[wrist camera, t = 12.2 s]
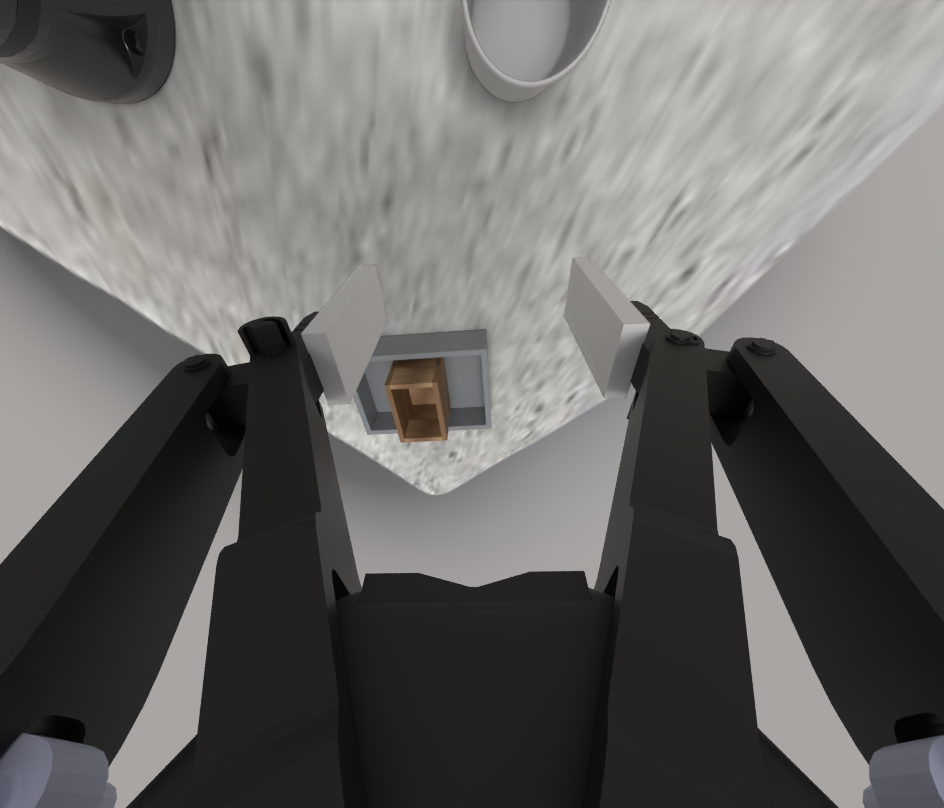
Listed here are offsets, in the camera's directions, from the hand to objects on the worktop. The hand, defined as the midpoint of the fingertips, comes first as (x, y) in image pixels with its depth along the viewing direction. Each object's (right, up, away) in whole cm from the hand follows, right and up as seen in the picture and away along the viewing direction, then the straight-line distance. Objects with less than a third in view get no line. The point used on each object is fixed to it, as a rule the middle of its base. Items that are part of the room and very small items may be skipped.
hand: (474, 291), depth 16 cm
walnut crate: (-7, -2, +31) cm, 31 cm away
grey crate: (-7, -1, +31) cm, 32 cm away
